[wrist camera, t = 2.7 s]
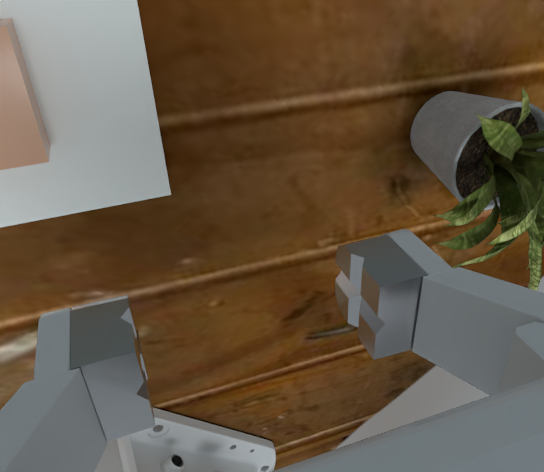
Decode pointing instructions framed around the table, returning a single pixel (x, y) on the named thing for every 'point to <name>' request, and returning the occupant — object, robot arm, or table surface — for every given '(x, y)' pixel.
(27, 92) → the terracotta tile
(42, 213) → the white slab
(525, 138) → the house plant
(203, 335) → the table surface
